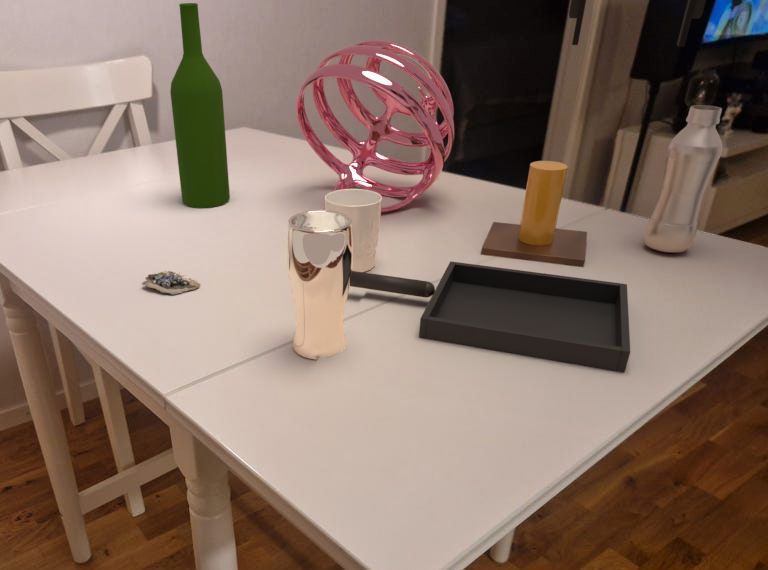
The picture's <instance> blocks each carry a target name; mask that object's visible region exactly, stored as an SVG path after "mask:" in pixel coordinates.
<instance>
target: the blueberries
mask: <svg viewBox="0 0 768 570" xmlns="http://www.w3.org/2000/svg"><path fill="white" fill-rule="evenodd" d="M185 276H186V274H183V275H182V274H180V271H178V272H177V273H176V272H173V271H170V270H168V271H166V270H165V271H160V272H157V273H150V274H147V276H146V277H145V280H146V281H142V283H141V286H145V287H147V288H150V289H155V290H156V291H159V292H160V293H163V294H170V295H172V296H173V295H178V294H183V292H184V293H186V292H188V291H194V290H197V289H199V288H200V287H201V283H200V282H199V280H197V279H192V278H190V277H189V278H185Z"/></svg>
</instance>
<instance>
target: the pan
mask: <svg viewBox="0 0 768 570" xmlns="http://www.w3.org/2000/svg"><path fill="white" fill-rule="evenodd" d="M628 297H629V295H628V284H627V283H620V282H614V281H606V280H598V279H591V278H590V279H589V278H583V277H575V276H567V275H558V274H551V273H543V272H537V271H528V270H522V269H521V270H520V269H512V268H505V267H496V266H489V265H481V264H475V263H474V264H473V263H467V262H466V263H465V262H458V261H449V263H448V265H447V267H446V268H445V270H444V273H443V274H442V276H441V278H440V280H439V282H438V284H437V286H436V287H435V292H434V294H433V295H432V296H430V299H429V301H428V303H427V305H426V307H425V309H424V311H423V312H422V314H421V316H420V320H419V329H418V331H419V332H418V339H423V340H428V341H429V340H430V341H436V342H441V343H447V344H451V345H459V346H465V347H471V348H476V349H482V350H489V351H494V352H499V353H505V354H512V355H517V356H524V357H528V358H535V359H541V360H546V361H552V362H558V363H564V364H569V365H574V366H575V365H576V366H581V367H587V368H593V369H599V370H604V371H611V372H616V373H621V374H625V372H626V369H627V365H628V363H629V358H630V355H631V338H630V318H629V299H628Z"/></svg>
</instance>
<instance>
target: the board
mask: <svg viewBox="0 0 768 570" xmlns="http://www.w3.org/2000/svg"><path fill="white" fill-rule="evenodd" d="M519 229H520V224H517V223H509V222H508V223H507V222H498V221H493V222H492V224H491V226H490V229H489V231H488V233H487V235H486V238H485V240H484V242H483V244H482V246H481V250H480V251H481V252H480V255H482V256H489V257H499V258H504V259H505V258H506V259H512V260H513V259H515V260H522V261H531V262H539V263H546V264H554V265H555V264H556V265H563V266H570V267H571V266H572V267H579V268H584V266H585V262H586V252H587V240H588V231H583V230H575V229H574V230H573V229H566V228H565V229H563V228H556V229H555V235H554V240H553V242H552V243H551V244H548V245H530V244H526V243H523V242H521V241H520V240H519V239H518V235H519Z"/></svg>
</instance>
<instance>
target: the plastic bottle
mask: <svg viewBox="0 0 768 570" xmlns="http://www.w3.org/2000/svg"><path fill="white" fill-rule="evenodd" d="M722 111H723V108H722V107H719V106H716V105H715V106H714V105H705V104H702V105H701V104H700V105H698V104H697V105H691V106H690V108H689V111H688V114H687V116H686V119H685V121H686V123H687V124H686V126H684V127H683V128H682V129H681V130H679V132H678V133H677V134H676V135H675V136H674V137H673V138H671V141H670V143H669V144H668V145H667V150H666V156H665V164H664V165H665V166H664V172H663V177H662V181H661V187H660V191H659V195H658V197H657V201H656V203H655V205H654V207H653V211H652V212H651V215H650V217H649V219H648V220H647V223H646V225H645V227H644V232H643V240H644V243H645V246H647V247H648V248H650V249H652V250H654V251H655V250H656V251H658V252H664V253H672V254H673V253H675V254H676V253H682V252H685V251H686V250H688V249H689V248H690V247H691V246H692V244H693V242H694V240H695V239H696V236H697V230H698V219H699V214H700V209H701V206H702V200H703V197H704V195H705V191H706V189H707V187H708V184H709V182H710V179H711V176H712V174H713V172H714V170H715V168H716V166H717V165H718V162H719V160H720V158H721V156H722V153H723V142H722V139H721V136H720V134H719V132H718V130H717V128H716V127H717V125H719V124H720V121H721V114H722Z"/></svg>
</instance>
